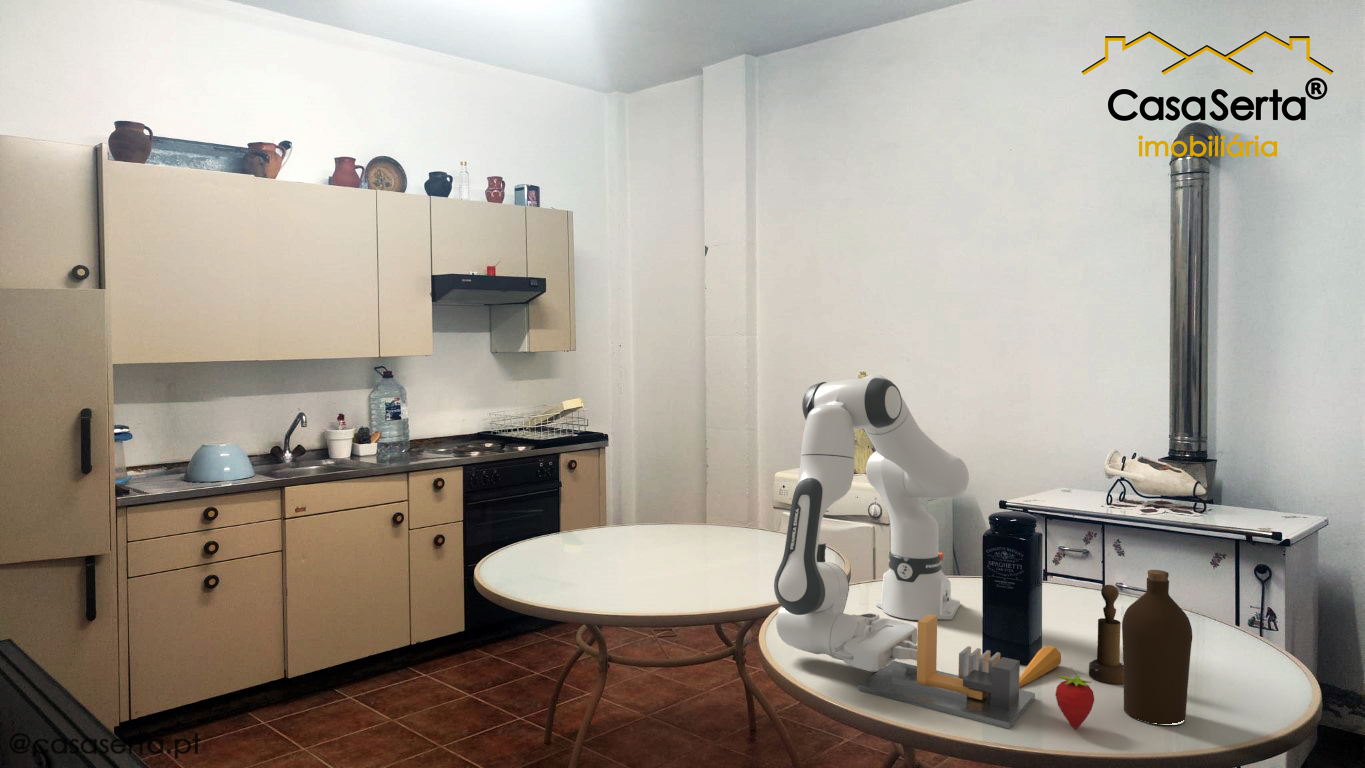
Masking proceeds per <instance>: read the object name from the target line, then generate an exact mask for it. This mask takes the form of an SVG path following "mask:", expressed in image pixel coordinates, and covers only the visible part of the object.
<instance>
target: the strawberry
mask: <svg viewBox="0 0 1365 768" xmlns="http://www.w3.org/2000/svg"><path fill="white" fill-rule="evenodd" d="M1069 668H1070V670H1072V671H1073V672H1074V673H1075V674H1076V675H1075V676H1074V677H1073V678H1072V677H1069V676H1061V675H1056V677H1057V678H1060V679H1062V680H1063V681H1061V682H1059V684H1058V685H1057V686H1056V689H1055V693H1054V694H1055V699H1056V704H1057V706H1058V708H1059V710H1060V711H1061V713H1062V714H1063V716H1064V717H1065V719H1066V721H1068V723H1069V724H1070V726H1071V727H1072V728H1073V729H1079V727H1080V726H1081V725H1082V724H1083V723H1084V721H1086V718H1087V717H1088V716H1089V715H1090V713H1091V712H1092V709H1093V706H1094V703H1095V695H1094V691H1093V690H1092V688H1091V687H1090V685H1088V684H1089V683H1090V684H1091V683H1092V681H1088V680H1085V679H1083V678H1082V677H1081V676H1082V675H1080V676H1079V675H1078V674H1077V673H1076V672H1075V670H1074V669H1073V668H1072V667H1071V666H1070V667H1069Z"/></svg>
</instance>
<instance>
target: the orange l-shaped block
mask: <svg viewBox="0 0 1365 768" xmlns="http://www.w3.org/2000/svg"><path fill="white" fill-rule="evenodd" d="M916 645H917V660H916V666H917V682H918V683H922V684H926V685H930V686H934V687H939V688H943V689H947V690H951V691H955V692H959V693H964V694H968V697H972V698H976V699H980V700H982V699H983V698H984V697H985V696H986V695H987V694H988V693H989V692H986V691H981V690H977V689H973V688H969V687H964V686H963V679H960V678H955V677H951V676H947V675H942V674H938V673H936V671H937V655H938V654H937V653H938V652H937V651H938V650H937V649H938V648H937V647H938V646H937V645H938V619H937V616H936V615H931V614H928V615H927V616H925V617H924V618H922V619H921V620H917V644H916Z"/></svg>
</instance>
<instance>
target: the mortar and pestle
mask: <svg viewBox="0 0 1365 768" xmlns="http://www.w3.org/2000/svg"><path fill="white" fill-rule="evenodd" d="M1100 594H1101V596H1102V598H1103V600H1104V602H1105V606H1104V607H1103V608H1102V609H1103V615H1104V618H1098V619H1097V647H1096V648H1097V651H1096V654H1097V655H1096V659H1095V658H1094V660H1092V661H1090V662H1089V664H1088V666H1089V667H1088V676H1089V677H1090V678H1091V679H1093V680H1095V681H1097V682H1101V683H1104V684H1105V683H1106V684H1110V685H1111V684H1112V685H1124V673H1123V663H1122V662H1120V659H1121V655H1120V652H1121V650H1120V649H1121V627H1122V622H1121V621H1120V620H1117V619H1115V617H1116V613H1117V609H1116V608H1115V602H1116V601H1117V600H1118V598H1119V589H1118V588H1117V587H1116V586H1115V585H1112V584H1105V585H1103V587H1102V588H1101V591H1100Z"/></svg>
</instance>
